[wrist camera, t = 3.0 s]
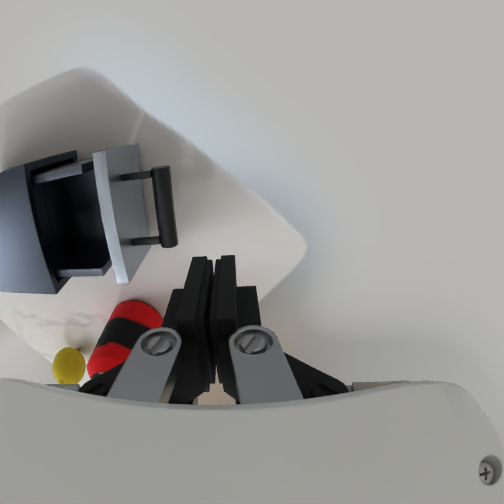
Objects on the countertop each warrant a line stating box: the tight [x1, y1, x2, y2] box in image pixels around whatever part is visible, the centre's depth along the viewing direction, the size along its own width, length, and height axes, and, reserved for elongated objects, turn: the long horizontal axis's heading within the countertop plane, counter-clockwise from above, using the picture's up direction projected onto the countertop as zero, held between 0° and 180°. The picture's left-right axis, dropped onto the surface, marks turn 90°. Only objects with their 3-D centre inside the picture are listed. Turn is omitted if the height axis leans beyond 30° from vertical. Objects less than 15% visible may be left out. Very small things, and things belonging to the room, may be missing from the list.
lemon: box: [52, 347, 86, 384], centre depth 33 cm, size 6×6×8 cm
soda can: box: [87, 301, 163, 379], centre depth 29 cm, size 8×8×12 cm
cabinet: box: [0, 150, 77, 294], centre depth 22 cm, size 15×13×10 cm
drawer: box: [31, 143, 178, 284], centre depth 23 cm, size 18×11×8 cm, turn 91°
